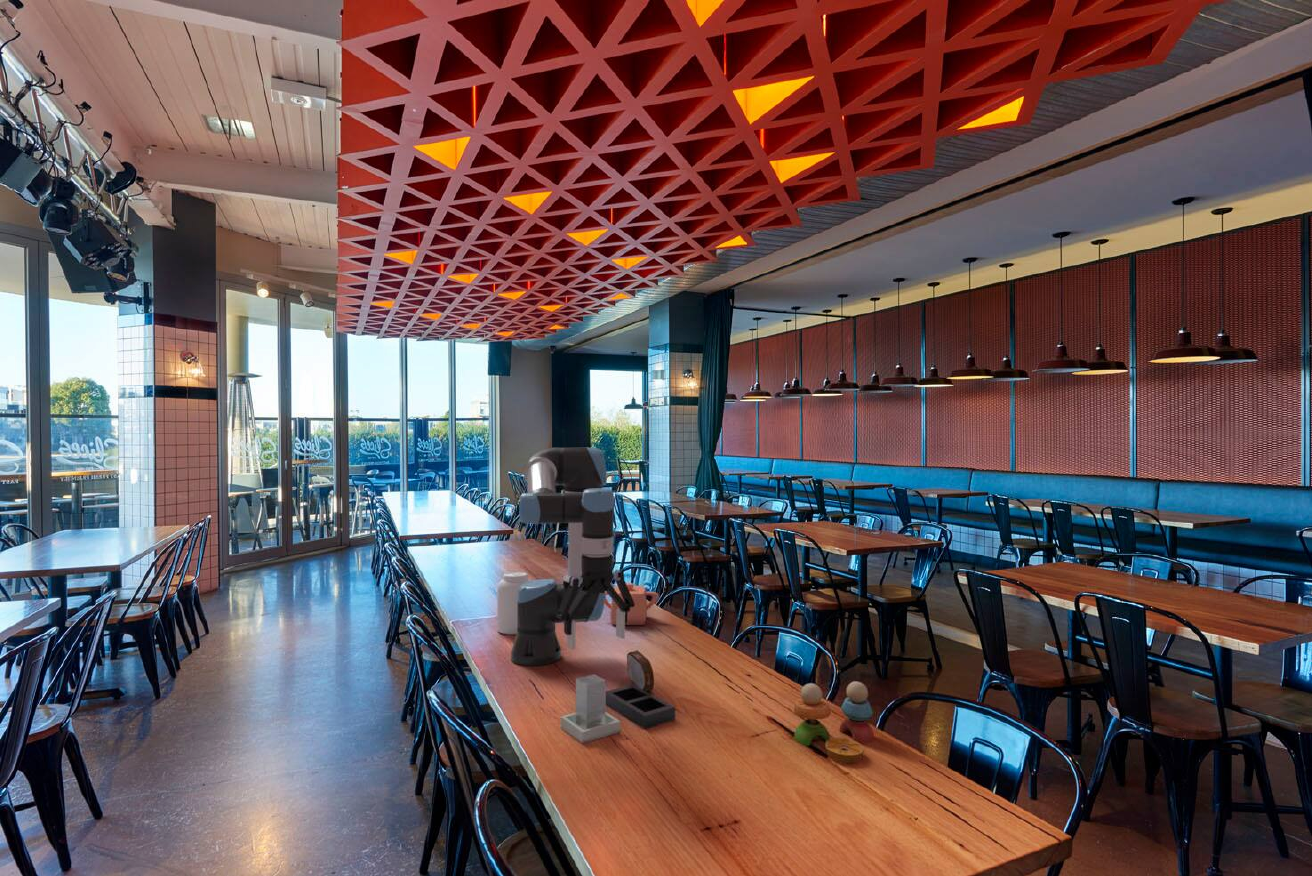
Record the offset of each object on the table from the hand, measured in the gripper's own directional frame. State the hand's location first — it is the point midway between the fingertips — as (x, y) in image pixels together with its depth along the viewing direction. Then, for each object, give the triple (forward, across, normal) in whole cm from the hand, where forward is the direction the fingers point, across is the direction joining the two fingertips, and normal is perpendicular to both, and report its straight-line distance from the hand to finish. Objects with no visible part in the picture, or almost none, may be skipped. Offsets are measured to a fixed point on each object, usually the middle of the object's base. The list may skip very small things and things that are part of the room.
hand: (596, 642), depth 156 cm
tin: (+20, +21, +12) cm, 31 cm away
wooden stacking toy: (+18, +39, -42) cm, 60 cm away
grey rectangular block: (+18, -4, -4) cm, 19 cm away
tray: (+18, -4, -4) cm, 19 cm away
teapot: (+22, +56, +69) cm, 92 cm away
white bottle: (+22, +15, +80) cm, 84 cm away
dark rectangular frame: (+19, +11, -2) cm, 22 cm away
